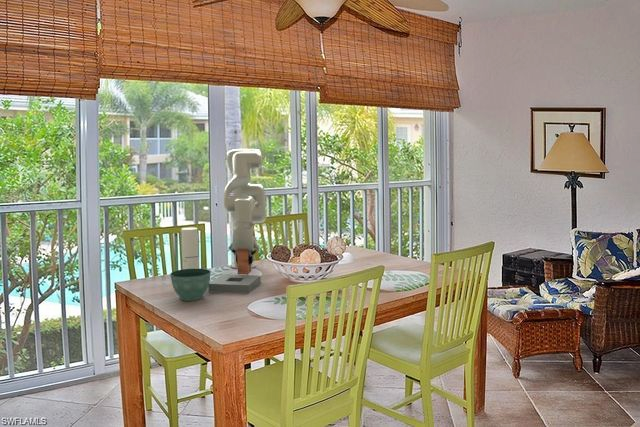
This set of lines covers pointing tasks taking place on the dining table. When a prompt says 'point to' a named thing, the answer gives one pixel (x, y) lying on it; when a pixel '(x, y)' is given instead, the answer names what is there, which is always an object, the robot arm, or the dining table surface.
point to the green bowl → (190, 283)
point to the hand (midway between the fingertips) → (244, 263)
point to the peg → (243, 261)
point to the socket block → (234, 283)
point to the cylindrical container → (190, 248)
